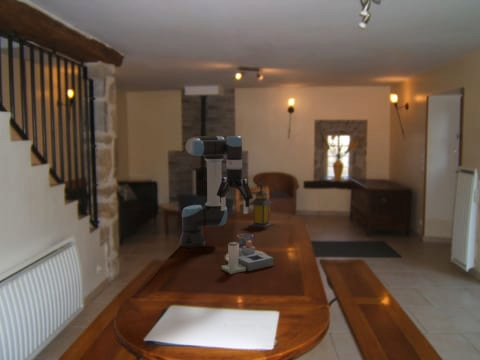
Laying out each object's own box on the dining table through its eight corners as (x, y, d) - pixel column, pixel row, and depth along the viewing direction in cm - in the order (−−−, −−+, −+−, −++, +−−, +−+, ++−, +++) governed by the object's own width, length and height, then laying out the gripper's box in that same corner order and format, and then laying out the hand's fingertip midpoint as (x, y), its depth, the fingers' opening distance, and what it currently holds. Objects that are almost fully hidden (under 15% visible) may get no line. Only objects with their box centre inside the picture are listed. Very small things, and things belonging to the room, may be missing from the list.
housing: (229, 261, 215) (229, 248, 215) (252, 256, 224) (252, 243, 223) (248, 270, 201) (248, 256, 200) (273, 265, 209) (273, 251, 208)
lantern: (274, 224, 300) (274, 183, 297) (265, 228, 289) (265, 185, 285) (257, 222, 308) (257, 182, 304) (247, 225, 296) (247, 184, 293)
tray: (221, 269, 203) (221, 265, 203) (236, 265, 208) (236, 262, 208) (230, 274, 196) (230, 270, 196) (245, 270, 201) (245, 267, 201)
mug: (251, 257, 222) (251, 238, 221) (234, 256, 224) (234, 237, 223) (256, 251, 234) (256, 232, 233) (240, 250, 236) (240, 231, 235)
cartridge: (232, 265, 206) (232, 241, 204) (240, 267, 203) (240, 242, 201) (226, 268, 202) (226, 243, 200) (234, 270, 199) (234, 245, 197)
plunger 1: (232, 251, 214) (232, 243, 214) (237, 250, 216) (237, 242, 215) (235, 253, 212) (235, 244, 211) (240, 252, 213) (240, 243, 213)
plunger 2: (244, 249, 219) (244, 241, 218) (249, 248, 220) (249, 240, 220) (248, 250, 216) (248, 242, 216) (252, 249, 218) (252, 241, 217)
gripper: (209, 167, 202) (209, 210, 205) (251, 170, 188) (251, 216, 190) (219, 166, 208) (219, 207, 211) (260, 169, 194) (260, 213, 196)
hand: (234, 212), depth 200 cm, fingers open, 13 cm apart
